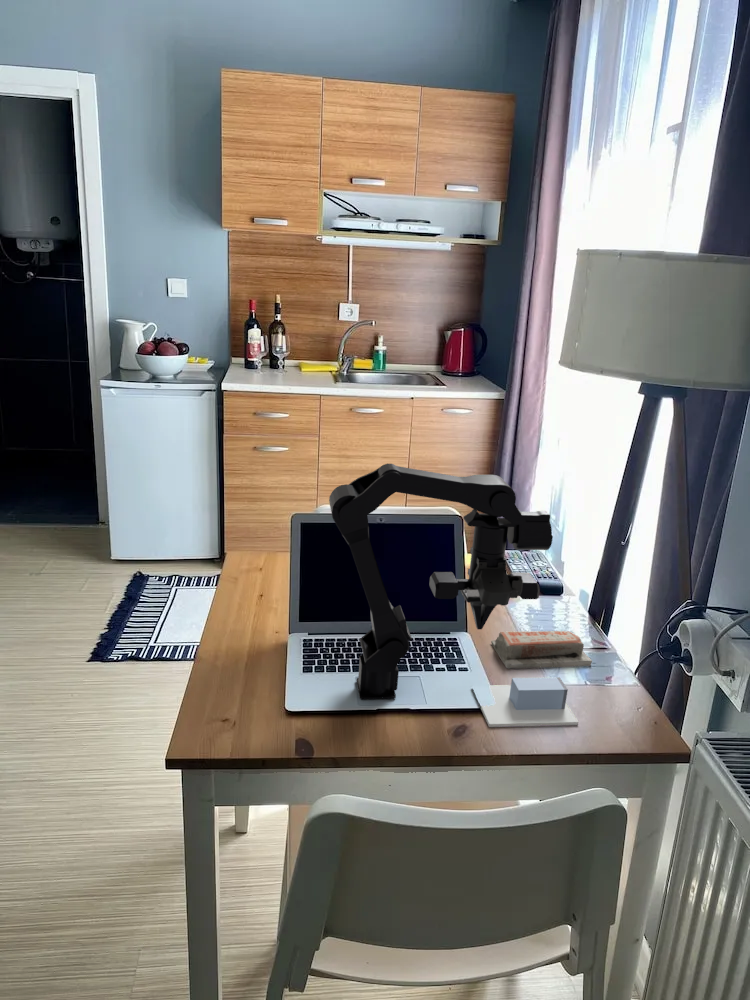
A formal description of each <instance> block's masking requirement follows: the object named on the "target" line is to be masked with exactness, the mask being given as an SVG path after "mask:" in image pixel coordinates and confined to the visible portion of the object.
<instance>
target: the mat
mask: <svg viewBox="0 0 750 1000" xmlns="http://www.w3.org/2000/svg"><path fill="white" fill-rule="evenodd" d="M489 685H490V688H491V690H492V693H493V696H494V698H495V702H496V704H495V705H494V706H489V707H488V706H487V705H486V706H485V707H484V706H481V708H480V711H481V712H482V715H483V717H484V718H485V719H484V720H485V722H486V723H487V726H488V727H489V728H504V727H505V728H507V727H508V728H509V727H513V728H514V727H539V726H540V727H542V726H544V727H545V726H547V727H548V726H549V727H552V726H554V727H555V726H579V720H578V719H577V716H575V714H574V712H573V711H572V710H571V708H570V706H569V705H568V704H567V702H566V703H565V709H539V710H516V709H515V707H514V705H513V703H512V701H511V699H510V698H509V696H510V689H511V684H496V685H492V684H489Z"/></svg>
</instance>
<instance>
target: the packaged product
mask: <svg viewBox="0 0 750 1000" xmlns="http://www.w3.org/2000/svg"><path fill="white" fill-rule="evenodd" d="M490 643H491V646H492V647H493V649H494V651H495V653H496V654H497V655H498V657H499V658H500V660H501V661H502V663H503V664H504V666H505V668H506V669H526V668H527V669H531V668H532V669H534V668H536V669H537V668H539V669H540V668H541V669H542V668H569V667H588V666H589V667H590V666H591V665H592V663H593V660H592V659H591V658H590V657H589V655H587V654H586V652H585V651H583V650H584V646H585V645H584V644H585V643H583V641H582V639H581V638H580V636H578V635H576V634H575V633H573V632H571V631H568V630H547V631H546V630H542V631H541V630H539V631H538V630H537V631H535V630H533V631H529V630H528V631H526V630H525V631H523V630H522V631H521V630H519V631H516V630H515V631H505V630H504V631H500V632H499V633H498V636H497V637H496V639H495V640H491V641H490Z"/></svg>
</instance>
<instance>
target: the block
mask: <svg viewBox="0 0 750 1000" xmlns="http://www.w3.org/2000/svg"><path fill="white" fill-rule="evenodd" d="M510 685H511V689H510V696H509V698H510V699H511V701H512V703H513V705H514V707H515V709H516V710H539V709H565V703H567V695H568V690H569V689H568V688H567V686H566V685H565V683H564V682H563V680H562V679H561V677H560V676H559V677H558V676H557V677H555V676H554V677H552V676H551V677H512V678H511V683H510Z"/></svg>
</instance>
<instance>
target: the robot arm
mask: <svg viewBox="0 0 750 1000" xmlns="http://www.w3.org/2000/svg"><path fill="white" fill-rule="evenodd" d="M395 493H397V494H404V495H410V496H416V497H417V496H418V497H423V498H429V499H436V500H442V501H447V502H452V503H453V502H454V503H459V504H462V505H464V506H467V507H469V508H471V509H472V510H471V511H470V512H468V513H467V514H466V515H464V516H463V520H464V521H465V523H466V525H467V526H468V527H474V528H473V537H472V538H473V539H472V546H470V548H469V549H470V551H469V553H470V564H469V568H467V574H468V575H467V576H468V578H456V576H455V574H454V573H453V572H452V571H434V572H433V573H432V574H431V575H430V577H429V588H430V590H431V592H432V594H433V596H434V598H435V599H438V600H453V599H455V598H456V597H458V596H459V591H460V593H461V594H462V596H463V598H464V600H465V602H466V603H469V604H470V608H471V612H472V616H473V620H474V624H475V627H476V629H477V630H483V628H484V627H485V625H486V622H487V621H488V619H489V618H490V615H491V613H493V612H494V611H493V610H494V609H495V608H496V607H497V606H507V605H508V604H509V602H510V599H517V598H518V597H520V598H521V599H522V600H538V599H539V596H540V591H541V588H540V584H539V583H538V582H537V581H536V579H535V578H534V576H533V575H531V573H530V572H511V573H509V574H508V573H507V559H506V558H505V554H506V548H507V547H506V546H507V542H508V543H509V544H510V545H512V546H513V549H514V550H515V551H520V550H521V551H548V550H549V549H550V548H551V546H552V544H553V538H554V536H553V531H552V524H551V514H549V513H548V511H546V510H536V511H520V509H519V508H518V506H516V501H517V497H516V493H515V491H514V490H513V488H512V487H511V486H510V485H509V484H508V483H507V482H506V480H504V479H503V478H502V477H501V476H499V475H496V474H473V475H468V476H457V475H451V474H445V473H440V472H433V471H428V470H422V469H416V468H410V467H404V466H398V465H396V464H393V463H385V464H383V465H381V466H379V467H378V468H376V469H375V470H374V471H371V472H368V473H366V474H364V475H362V476H359V477H358V478H356V479H354V480H352V481H351V482H350V483H348V484H347V483H346V484H341V485H338V486H337V487H335V488H334V489H333V490H332V491H331V493H330V495H329V498H328V499H329V500H328V502H329V507H330V512H331V517H332V519H333V521H334V523H335V525H336V527H337V529H338V530H339V532H340V534H341V536H342V537H343V538H344V540H345V543H347V545H348V546H349V549H350V552H351V555H352V558H353V561H354V564H355V566H356V570H357V573H358V576H359V580H360V582H361V585H362V589H363V590H364V594H365V597H366V600H367V603H368V607H369V610H370V622H371V629H370V630H368V632H366V633H365V634H364V635H363V636H362V637H361V638H359V642H360V646H361V647H360V648H361V650H362V654H360V655H359V663H358V677H357V678H356V680H355V681H356V686H357V691H358V696H359V699H360V700H392V699H391V698H395V699H396V697H397V695H396V694H397V693H396V691H397V690H398V685H399V684H398V683H399V671H400V670H399V668H398V664H399V662H400V660H401V659H402V658H403V657H405V656H406V655H407V653H408V652H409V651H410V642H409V641H412V640H413V638H412V636H411V632H410V630H409V625H408V624H407V619H406V617H405V614H404V612H403V609H402V606H401V605H400V604H399V605H396V606H395V607H394V606H393V605H392V603H391V602H390V600H389V597H388V593H387V591H386V587H385V584H384V581H383V578H382V576H381V575H382V574H381V572H380V569H379V566H378V565H379V564H378V562H377V559H376V556H375V553H374V551H373V550H374V549H373V547H372V544H371V541H370V527H369V518H368V515H370V514H371V513H373V512H374V511H376V510H377V509H378V508H379V507H380V506H381V505H382V504H383V503H384V502H385V501H386V500H387V499H388V498H389V497H391V496H392V495H393V494H395Z"/></svg>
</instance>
